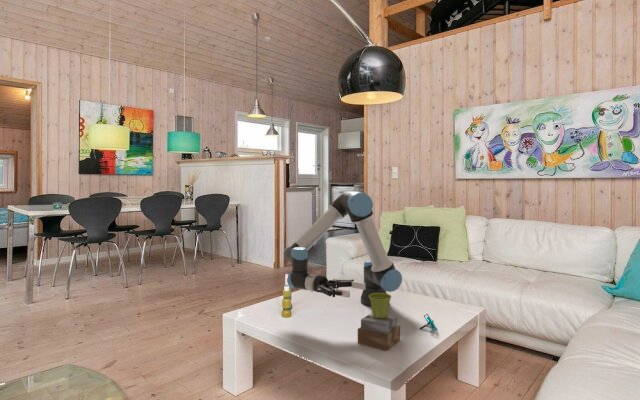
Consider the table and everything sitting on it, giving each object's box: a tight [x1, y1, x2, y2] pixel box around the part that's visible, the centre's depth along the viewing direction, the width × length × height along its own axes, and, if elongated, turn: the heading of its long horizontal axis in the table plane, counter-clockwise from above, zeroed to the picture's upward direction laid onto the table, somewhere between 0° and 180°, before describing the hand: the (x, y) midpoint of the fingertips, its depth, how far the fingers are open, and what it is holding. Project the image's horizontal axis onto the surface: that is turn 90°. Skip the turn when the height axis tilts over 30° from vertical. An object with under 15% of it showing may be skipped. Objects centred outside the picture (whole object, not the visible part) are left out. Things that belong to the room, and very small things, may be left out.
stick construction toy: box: [419, 313, 439, 332], centre depth 180 cm, size 12×7×8 cm
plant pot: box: [369, 293, 392, 319], centre depth 166 cm, size 9×9×9 cm
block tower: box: [357, 312, 401, 352], centre depth 165 cm, size 13×13×10 cm
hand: (357, 290), depth 171 cm, fingers open, 13 cm apart
